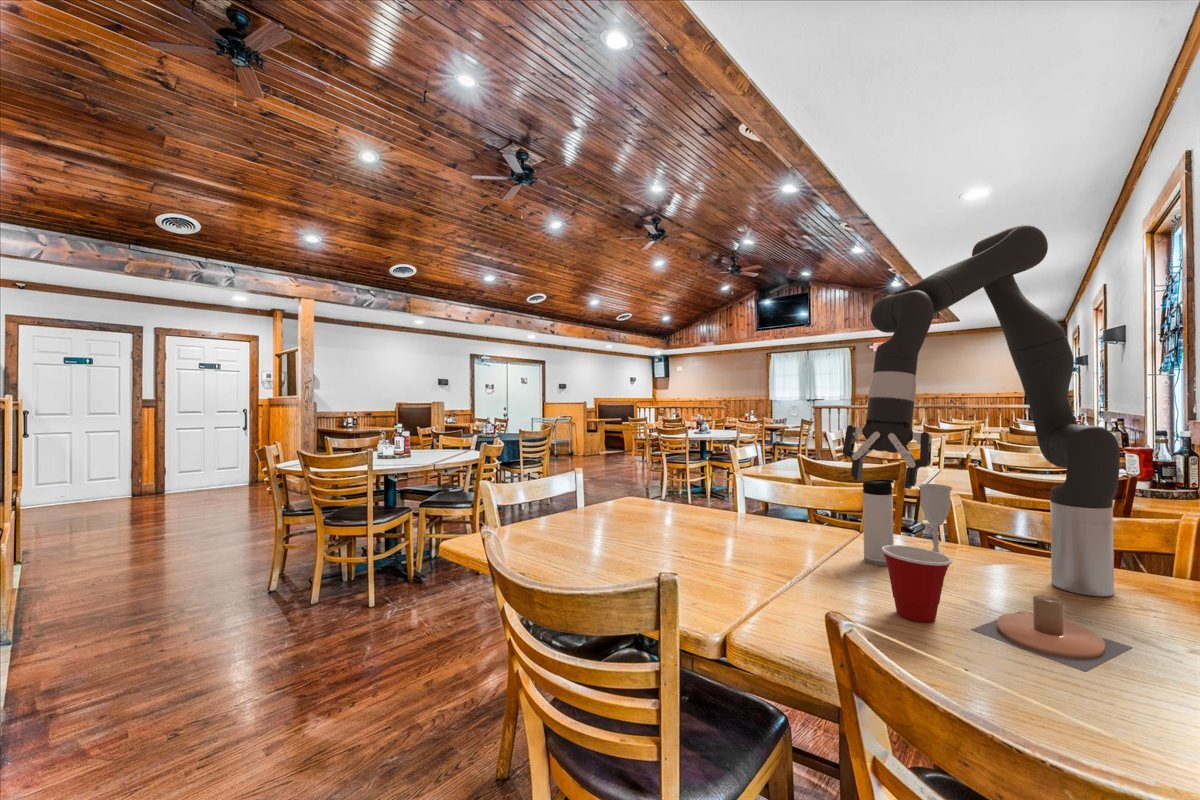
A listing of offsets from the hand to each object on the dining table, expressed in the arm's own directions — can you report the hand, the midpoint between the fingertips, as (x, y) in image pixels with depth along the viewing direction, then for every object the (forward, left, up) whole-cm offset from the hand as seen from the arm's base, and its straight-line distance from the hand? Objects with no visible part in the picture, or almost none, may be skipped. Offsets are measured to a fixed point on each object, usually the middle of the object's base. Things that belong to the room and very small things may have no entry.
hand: (881, 484), depth 95 cm
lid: (-12, +20, -23) cm, 33 cm away
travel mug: (-24, -18, -24) cm, 39 cm away
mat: (-12, +20, -24) cm, 33 cm away
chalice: (-36, -12, -24) cm, 45 cm away
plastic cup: (-2, +5, -24) cm, 24 cm away
